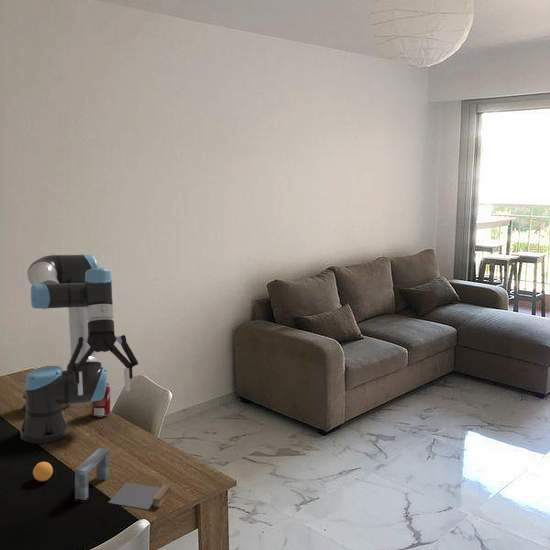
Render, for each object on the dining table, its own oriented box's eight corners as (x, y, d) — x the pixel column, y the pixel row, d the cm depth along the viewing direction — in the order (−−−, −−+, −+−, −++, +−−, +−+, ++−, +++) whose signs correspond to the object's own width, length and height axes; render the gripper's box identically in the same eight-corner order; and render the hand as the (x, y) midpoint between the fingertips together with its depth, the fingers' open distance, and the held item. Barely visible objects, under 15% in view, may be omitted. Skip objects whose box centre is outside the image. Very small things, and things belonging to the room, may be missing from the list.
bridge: (75, 499, 174) (75, 469, 173) (99, 476, 188) (99, 447, 187) (84, 501, 174) (85, 471, 172) (108, 477, 188) (109, 449, 186)
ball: (29, 483, 182) (29, 465, 181) (39, 474, 187) (39, 457, 186) (46, 485, 181) (46, 468, 180) (56, 477, 186) (56, 460, 185)
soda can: (104, 419, 230) (105, 388, 228) (88, 416, 231) (88, 386, 229) (113, 412, 236) (113, 382, 234) (96, 410, 238) (97, 380, 236)
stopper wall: (152, 506, 173) (153, 498, 173) (163, 492, 181) (163, 484, 181) (159, 507, 173) (159, 499, 173) (170, 493, 181) (170, 485, 180)
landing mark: (108, 503, 174) (108, 502, 174) (126, 482, 185) (126, 482, 185) (148, 510, 172) (148, 509, 171) (164, 488, 183) (164, 488, 183)
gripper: (59, 319, 174) (62, 396, 170) (145, 316, 186) (150, 388, 182) (54, 323, 180) (57, 397, 176) (137, 320, 193) (142, 389, 189)
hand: (104, 393), depth 179 cm, fingers open, 13 cm apart
